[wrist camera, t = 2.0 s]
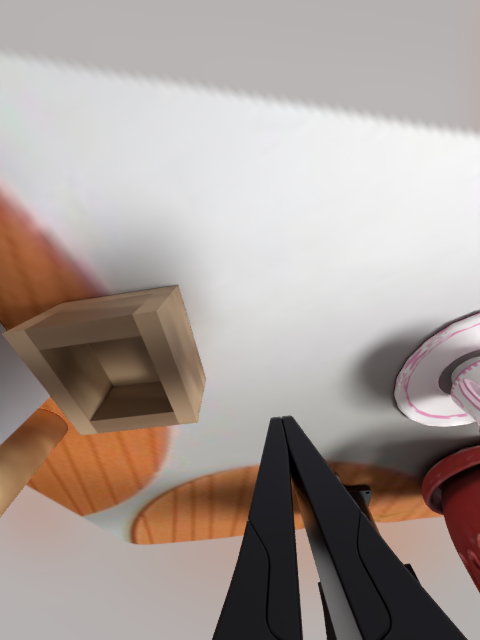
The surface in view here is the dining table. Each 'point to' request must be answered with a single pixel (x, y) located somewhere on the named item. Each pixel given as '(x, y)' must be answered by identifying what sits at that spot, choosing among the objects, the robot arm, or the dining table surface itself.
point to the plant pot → (458, 503)
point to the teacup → (424, 372)
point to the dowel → (27, 452)
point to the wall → (16, 390)
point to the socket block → (116, 360)
